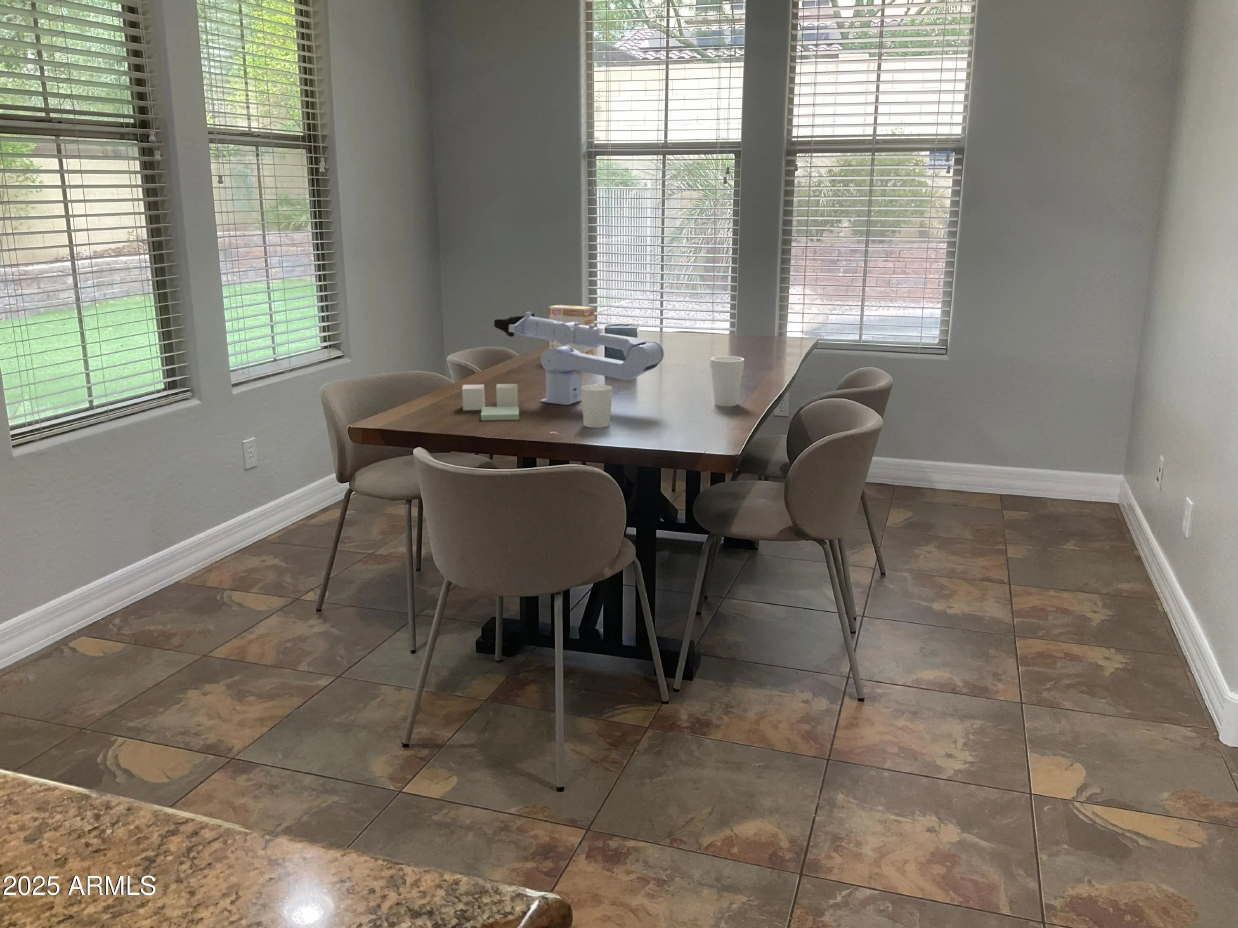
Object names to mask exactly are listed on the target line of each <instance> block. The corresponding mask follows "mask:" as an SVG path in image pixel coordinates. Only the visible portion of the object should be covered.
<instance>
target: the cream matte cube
mask: <svg viewBox="0 0 1238 928" xmlns="http://www.w3.org/2000/svg"><path fill="white" fill-rule="evenodd" d="M495 390H496V393H495V394H496V407H502V406H519V397H518V396H519V395H518V391H519V390H518V383H496V388H495Z"/></svg>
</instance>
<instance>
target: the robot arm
mask: <svg viewBox="0 0 1238 928" xmlns="http://www.w3.org/2000/svg"><path fill="white" fill-rule="evenodd" d="M493 320H494V321H493V322H494V323H493V324H494V326H493V327H494V328H495V329H497V330H500V331H502V332H503V333H505V334H506V336H508V337H510V338H512V337H515V333H516V334H519V335H521V336H523V337H527V338H528V337H532V338H537V339H543V340H547V341H549V340H553V341H554V340H555V341H558V342H559V343H560V344H563V346H561V347H557V348H553V349H550V348H547V349H545V350H543V352H542V353H541V355H540V364H541V366H542V367H543V369H544V372H545V385H546V387H545V388H546V390H545V391H546V395H545V396H546V397H545V398H542V399H540V402H542V403H549V404H557V405H565V406H568V405H572V404H575V403H578V402H580V401H581V402H582V395H581V377H580V375H579V374H578V372H583V373H588V374H593V375H597V376H604V377H607V378H614V379H619V380H624V381H630V380H633V379H636V378H638V377H640V376H642V375H644V374H645V373H647V372H649V371H651V370H653V369H655V368H657V367H658V366H659V365H660V363H661V362H662V361H663V359H664V356H665V352H664V349H663V347H662V345H661V343H659V342H656V341H649V340H648V339H645V338H639V337H633V336H625V335H619V334H612V333H604V332H603V331H602V330H601V329H602V328H600V327H597V326H596V324H594V325H589V326H585V325H580V323H578V322H576V323H575V321H571V322H568V323H565V322H560V321H556V320H550V319H549V318H543V317H537V316H535V313H532V312H531V311H526V312H525V315H521V316H520V315H519V316H518V315H516V316H509V318H500V319H499V318H498V319H493ZM569 343H573V344H575V345H580V346H585V347H591V348H595V349H597V348H599V347H600V346H603V347H608V348H612V349H616V350H621V351H622V353H623V355H624V357H625V360H621V359H616V358H615V359H614V358H610V357H609V358H608V357H603V356H599V355H595V356H594V355H588V354H583V353H580V351H577V350H574V349H573V348H572V347H570V346H568V345H567V344H569ZM574 371H577V372H574Z"/></svg>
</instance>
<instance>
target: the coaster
mask: <svg viewBox="0 0 1238 928" xmlns="http://www.w3.org/2000/svg"><path fill="white" fill-rule="evenodd" d="M480 411H481V413H480V421H517V420H518V421H519V420H520V406H519V405H518V406H502V407H497V406H485V407H482V410H480Z"/></svg>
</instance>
